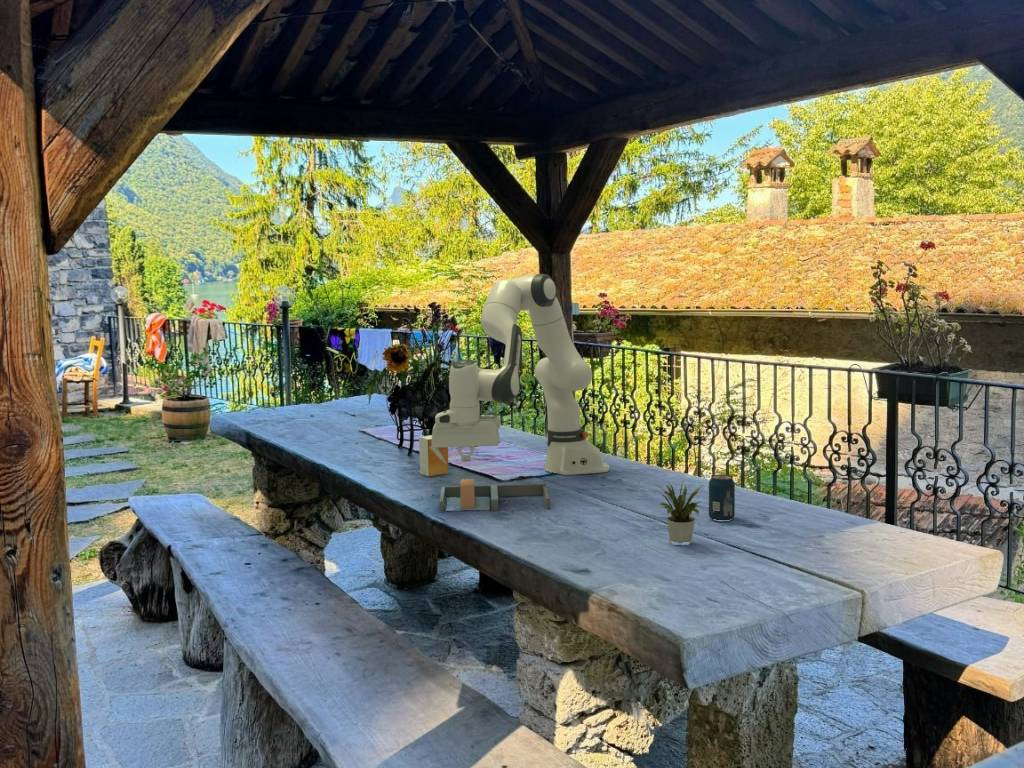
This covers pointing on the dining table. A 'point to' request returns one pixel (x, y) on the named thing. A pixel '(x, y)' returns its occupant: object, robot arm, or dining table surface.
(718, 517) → the soda can
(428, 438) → the small box
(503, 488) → the gate frame with panel
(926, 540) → the dining table surface
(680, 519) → the house plant
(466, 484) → the long orange rectangular block
